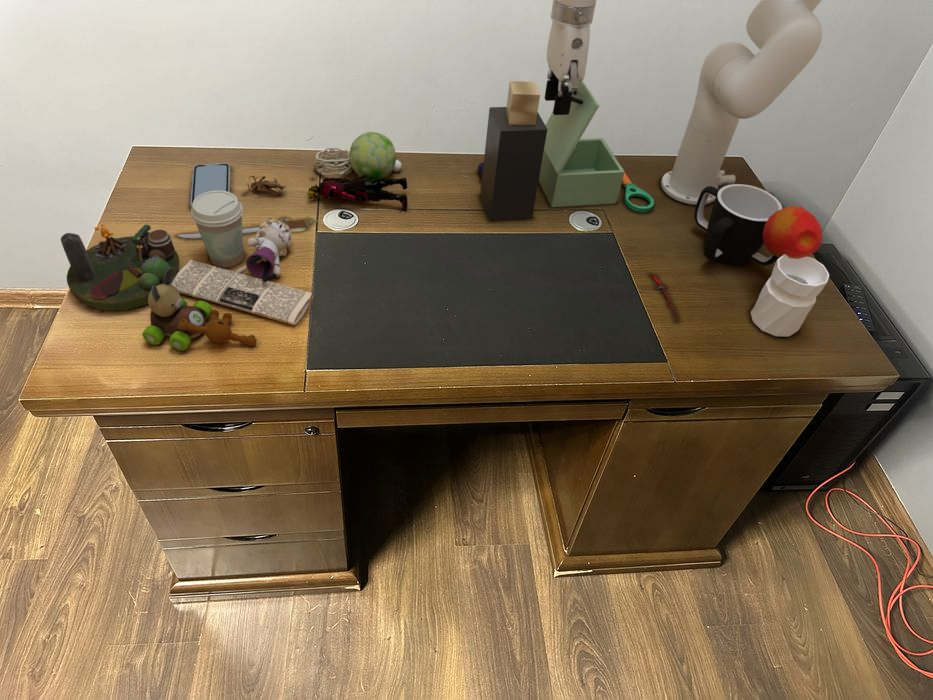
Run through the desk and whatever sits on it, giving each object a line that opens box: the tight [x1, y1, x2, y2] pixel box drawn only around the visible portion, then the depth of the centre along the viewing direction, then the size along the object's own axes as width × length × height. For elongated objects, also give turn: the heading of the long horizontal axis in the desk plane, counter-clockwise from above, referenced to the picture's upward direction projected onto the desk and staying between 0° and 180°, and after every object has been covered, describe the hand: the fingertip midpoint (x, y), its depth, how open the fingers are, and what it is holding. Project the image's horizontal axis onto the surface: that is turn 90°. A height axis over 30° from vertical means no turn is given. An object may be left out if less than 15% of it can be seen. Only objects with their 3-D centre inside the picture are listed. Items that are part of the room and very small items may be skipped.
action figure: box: [303, 174, 409, 211], centre depth 140 cm, size 15×6×20 cm
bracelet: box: [314, 146, 354, 177], centre depth 147 cm, size 4×8×8 cm
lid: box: [544, 79, 600, 174], centre depth 138 cm, size 15×14×5 cm
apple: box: [763, 205, 824, 259], centre depth 121 cm, size 9×9×12 cm
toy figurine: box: [178, 309, 258, 347], centre depth 111 cm, size 12×4×7 cm
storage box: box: [538, 137, 626, 208], centre depth 148 cm, size 15×14×8 cm
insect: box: [247, 175, 287, 196], centre depth 140 cm, size 4×8×5 cm
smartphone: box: [190, 162, 231, 208], centre depth 140 cm, size 7×1×15 cm
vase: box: [750, 254, 830, 338], centre depth 121 cm, size 9×9×12 cm
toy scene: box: [60, 222, 180, 311], centre depth 116 cm, size 18×18×11 cm
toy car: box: [141, 268, 213, 352], centre depth 109 cm, size 9×9×11 cm
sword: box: [176, 218, 313, 240], centre depth 132 cm, size 25×1×5 cm
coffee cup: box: [190, 190, 245, 268], centre depth 122 cm, size 8×8×12 cm
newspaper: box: [170, 259, 313, 326], centre depth 119 cm, size 24×7×2 cm, turn 73°
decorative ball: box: [348, 131, 397, 181], centre depth 144 cm, size 10×10×10 cm
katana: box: [651, 274, 677, 318], centre depth 128 cm, size 13×2×1 cm, turn 8°
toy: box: [234, 216, 293, 282], centre depth 124 cm, size 8×10×15 cm
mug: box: [693, 183, 783, 266], centre depth 134 cm, size 16×16×12 cm
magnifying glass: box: [621, 172, 655, 214], centre depth 151 cm, size 15×6×2 cm, turn 14°
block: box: [505, 80, 541, 125], centre depth 127 cm, size 5×5×6 cm
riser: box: [479, 106, 548, 222], centre depth 137 cm, size 9×9×20 cm
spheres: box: [392, 159, 403, 173], centre depth 153 cm, size 15×2×2 cm
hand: (556, 106), depth 136 cm, fingers closed on lid, 5 cm apart
